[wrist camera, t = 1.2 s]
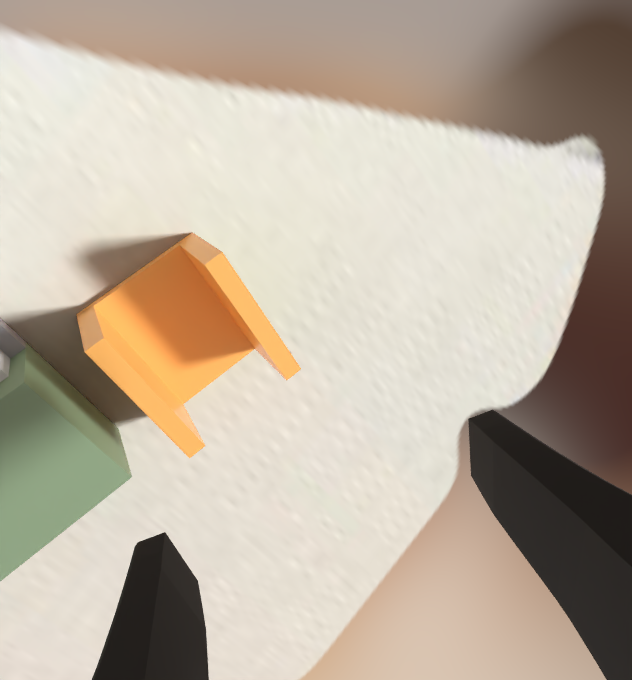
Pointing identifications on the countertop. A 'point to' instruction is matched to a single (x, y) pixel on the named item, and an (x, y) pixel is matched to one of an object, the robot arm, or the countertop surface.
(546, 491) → the robot arm
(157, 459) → the countertop surface
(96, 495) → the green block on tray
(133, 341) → the chute
